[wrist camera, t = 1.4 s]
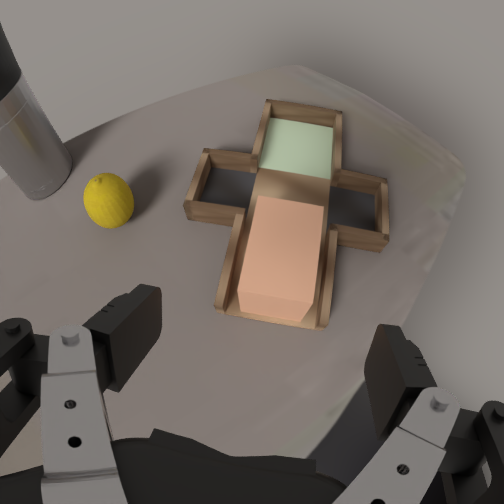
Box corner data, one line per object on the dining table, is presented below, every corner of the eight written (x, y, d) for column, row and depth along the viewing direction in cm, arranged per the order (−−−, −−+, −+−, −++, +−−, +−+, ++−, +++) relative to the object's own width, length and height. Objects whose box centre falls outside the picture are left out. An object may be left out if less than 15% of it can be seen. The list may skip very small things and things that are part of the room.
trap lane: (374, 338, 30) (385, 332, 28) (163, 300, 32) (155, 292, 29) (375, 135, 42) (381, 120, 39) (226, 110, 44) (225, 94, 41)
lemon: (148, 203, 37) (128, 162, 30) (131, 244, 35) (105, 207, 28) (112, 197, 38) (87, 157, 30) (94, 234, 35) (64, 199, 28)
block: (300, 321, 31) (313, 303, 24) (240, 311, 31) (237, 290, 25) (311, 241, 34) (323, 206, 28) (257, 231, 35) (258, 195, 29)
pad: (329, 181, 38) (330, 179, 38) (258, 169, 39) (258, 167, 39) (332, 130, 42) (332, 128, 42) (270, 119, 43) (270, 117, 43)
